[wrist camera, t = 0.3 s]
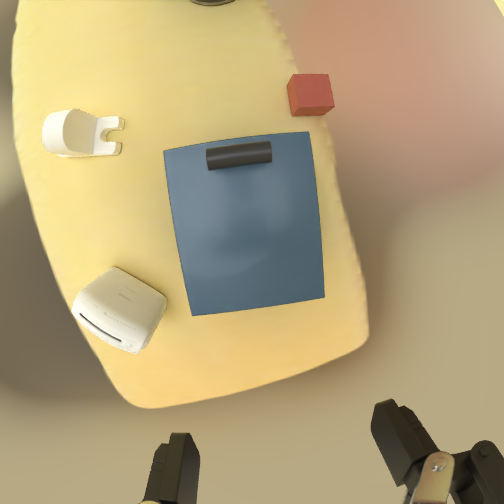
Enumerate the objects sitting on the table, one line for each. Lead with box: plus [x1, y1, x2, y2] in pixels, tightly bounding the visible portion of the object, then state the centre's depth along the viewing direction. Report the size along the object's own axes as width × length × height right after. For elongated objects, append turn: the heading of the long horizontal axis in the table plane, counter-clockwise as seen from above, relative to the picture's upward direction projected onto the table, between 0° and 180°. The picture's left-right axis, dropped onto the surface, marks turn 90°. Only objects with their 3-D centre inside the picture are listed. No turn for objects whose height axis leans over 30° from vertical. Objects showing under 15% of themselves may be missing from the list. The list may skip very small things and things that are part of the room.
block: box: [287, 74, 335, 116], centre depth 30 cm, size 4×4×4 cm
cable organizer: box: [42, 108, 124, 158], centre depth 27 cm, size 5×10×10 cm, turn 85°
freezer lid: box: [163, 132, 325, 316], centre depth 24 cm, size 16×14×5 cm
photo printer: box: [71, 267, 167, 354], centre depth 31 cm, size 10×4×12 cm, turn 59°
